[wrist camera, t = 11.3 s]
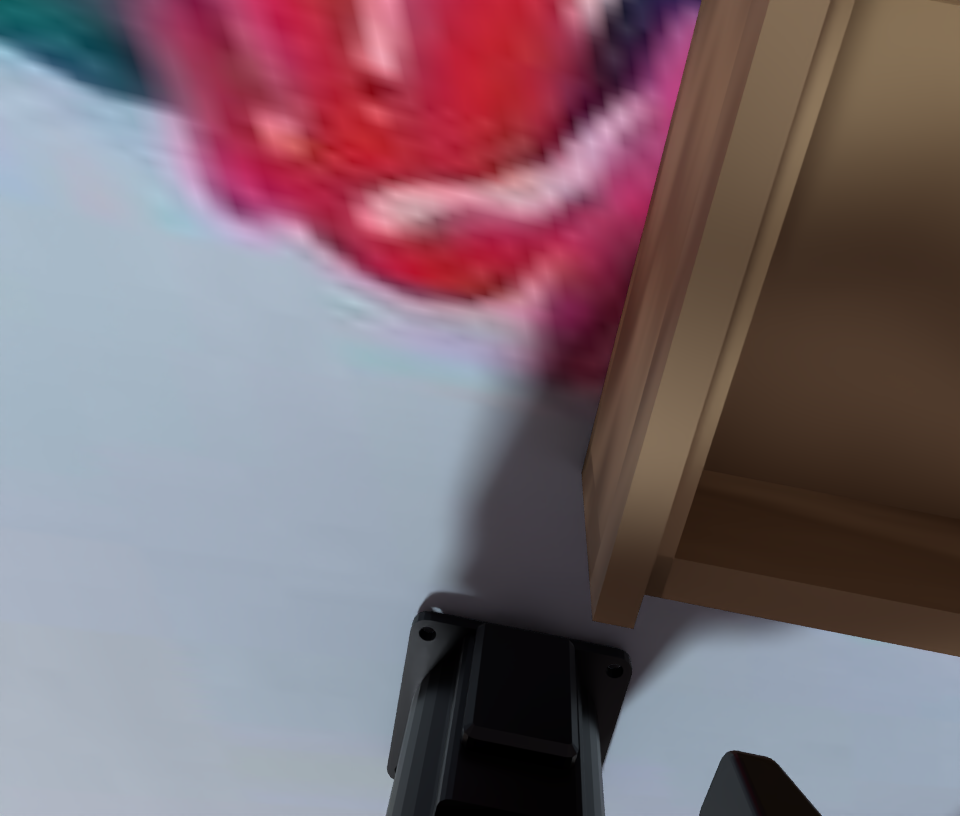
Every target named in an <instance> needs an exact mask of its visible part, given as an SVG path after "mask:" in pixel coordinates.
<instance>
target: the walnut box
mask: <svg viewBox="0 0 960 816" xmlns="http://www.w3.org/2000/svg"><path fill="white" fill-rule="evenodd" d="M581 474H582V487H583V501H584V514H585V528H586V541H587V555H588V568H589V581H590V595H591V608H592V621H596V622H601V623H606V624H611V625H616V626H621V627H626V628H631V629H633V628H634V625H635V622H636V619H637V616H638V612H639V609H640V606H641V603H642V600H643V596H644V595H649V596H654V597H659V598H664V599H669V600H674V601H679V602H684V603H689V604H694V605H699V606H704V607H709V608H714V609H720V610H725V611H730V612H735V613H740V614H745V615H750V616H755V617H760V618H765V619H770V620H775V621H780V622H786V623H791V624H796V625H801V626H806V627H811V628H816V629H821V630H826V631H831V632H836V633H841V634H846V635H852V636H857V637H862V638H867V639H872V640H877V641H882V642H887V643H892V644H897V645H902V646H907V647H912V648H918V649H923V650H928V651H933V652H938V653H943V654H948V655H953V656H958V657H960V0H702V1H701V5H700V9H699V13H698V17H697V21H696V25H695V29H694V33H693V37H692V41H691V45H690V49H689V52H688V56H687V60H686V64H685V68H684V72H683V76H682V80H681V84H680V88H679V92H678V96H677V100H676V103H675V107H674V111H673V115H672V119H671V123H670V127H669V131H668V135H667V139H666V143H665V147H664V151H663V154H662V158H661V162H660V166H659V170H658V174H657V178H656V182H655V186H654V190H653V194H652V198H651V202H650V206H649V209H648V213H647V217H646V221H645V225H644V229H643V233H642V237H641V241H640V245H639V249H638V253H637V257H636V260H635V264H634V268H633V272H632V276H631V280H630V284H629V288H628V292H627V296H626V300H625V304H624V308H623V311H622V315H621V319H620V323H619V327H618V331H617V335H616V339H615V343H614V347H613V351H612V355H611V359H610V363H609V366H608V370H607V374H606V378H605V382H604V386H603V390H602V394H601V398H600V402H599V406H598V410H597V414H596V417H595V421H594V425H593V429H592V433H591V437H590V441H589V445H588V449H587V453H586V457H585V461H584V465H583V469H582V472H581Z"/></svg>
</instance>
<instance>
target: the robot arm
mask: <svg viewBox="0 0 960 816" xmlns="http://www.w3.org/2000/svg"><path fill="white" fill-rule="evenodd" d="M423 627H430V628H433V629H434V630H435V631H434V632H427V631H424V630H423ZM611 664H618V665H620V667H618V668H609V667H608V666H609V665H611ZM631 675H632V665H631V659H630V657H629V655H628V654H627V653H626V652H625V651H624V650H621V649H618V648H614V647H609V646H604V645H599V644H594V643H588V642H583V641H578V640H573V639H568V638H563V637H558V636H553V635H548V634H543V633H538V632H533V631H528V630H523V629H518V628H513V627H508V626H503V625H498V624H493V623H487V622H482V621H477V620H472V619H467V618H462V617H457V616H452V615H447V614H442V613H437V612H432V611H425V612H422V613H419V614H418V615H417V616H415V618H414V620H413V623H412V627H411V631H410V637H409V642H408V648H407V654H406V660H405V666H404V672H403V678H402V683H401V689H400V695H399V701H398V707H397V713H396V719H395V724H394V730H393V736H392V742H391V748H390V754H389V760H388V765H387V772H388V774H389V775H390V777H391V778H393V779H394V782H393V787H392V791H391V795H390V800H389V804H388V808H387V813H386V816H605V808H604V794H603V780H602V765H603V762H604V759H605V756H606V753H607V750H608V747H609V743H610V740H611V737H612V734H613V731H614V728H615V725H616V722H617V719H618V715H619V712H620V709H621V706H622V703H623V700H624V697H625V694H626V691H627V688H628V684H629V681H630V678H631ZM699 816H822V815H821V814H820V813H819V812H818V811H817V809H816V808H815V807H814V806H813V805H812V803H811V802H810V801H809V800H808V799H807V798H806V796H805V795H804V794H803V793H802V792H801V791H800V789H799V788H798V787H797V786H796V785H795V783H794V782H793V781H792V780H791V779H790V778H789V776H788V775H787V774H786V773H785V772H784V771H783V769H782V768H781V767H780V766H779V765H778V764H777V763H776V762H775V761H774V760H772V759H770V758H768V757H765V756H760V755H755V754H751V753H746V752H741V751H735V750H734V751H729V752H727V753H726V754H725V755H724V756H723V758H722V759H721V761H720V763H719V766H718V768H717V771H716V773H715V776H714V778H713V780H712V783H711V785H710V788H709V790H708V793H707V795H706V798H705V800H704V802H703V805H702V807H701V810H700V814H699Z"/></svg>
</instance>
